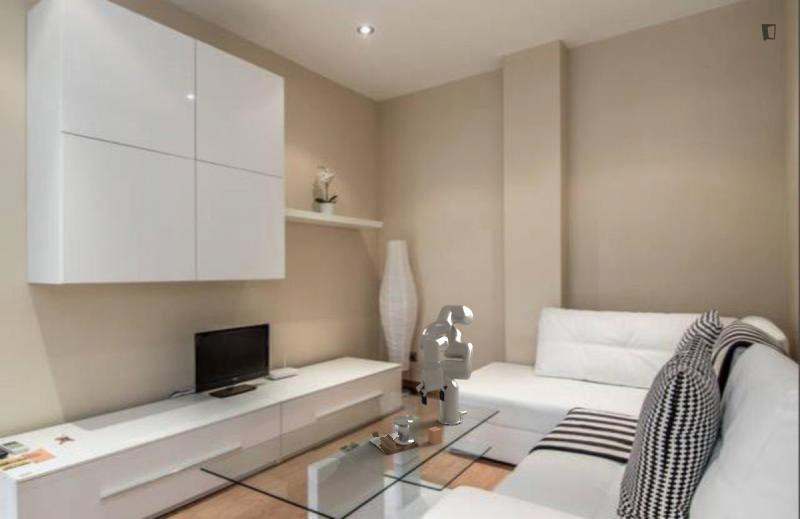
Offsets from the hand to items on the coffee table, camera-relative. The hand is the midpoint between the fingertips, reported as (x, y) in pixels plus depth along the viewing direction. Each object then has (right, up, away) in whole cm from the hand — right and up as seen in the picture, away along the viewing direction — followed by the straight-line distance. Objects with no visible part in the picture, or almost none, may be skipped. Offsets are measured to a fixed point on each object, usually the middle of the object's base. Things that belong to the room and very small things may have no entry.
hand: (433, 402), depth 206 cm
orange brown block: (+1, -18, 0) cm, 18 cm away
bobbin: (-13, -17, -2) cm, 22 cm away
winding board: (-18, -19, -1) cm, 26 cm away
